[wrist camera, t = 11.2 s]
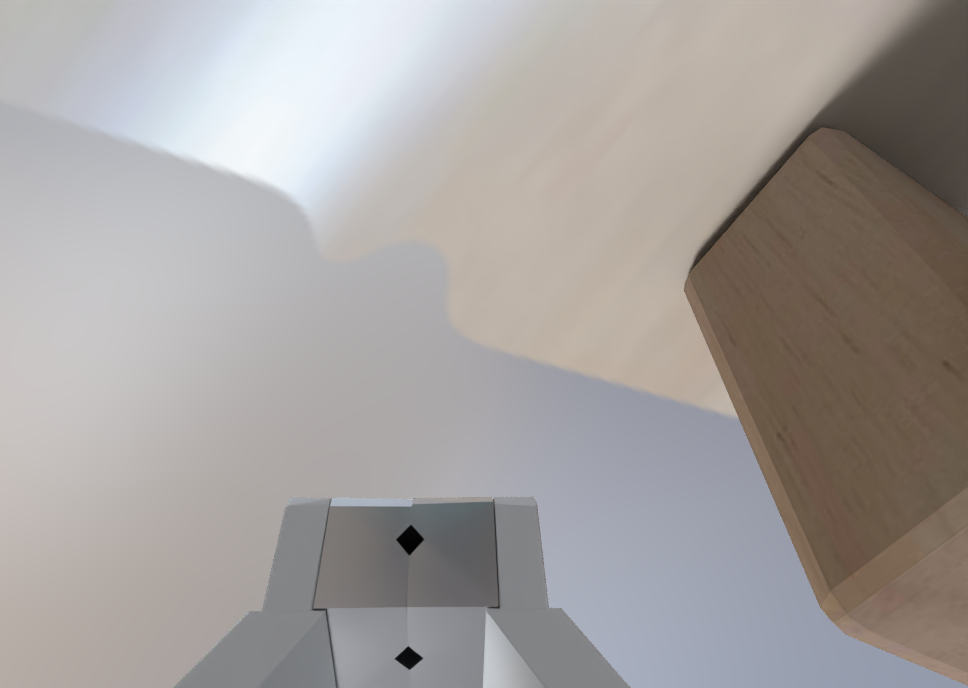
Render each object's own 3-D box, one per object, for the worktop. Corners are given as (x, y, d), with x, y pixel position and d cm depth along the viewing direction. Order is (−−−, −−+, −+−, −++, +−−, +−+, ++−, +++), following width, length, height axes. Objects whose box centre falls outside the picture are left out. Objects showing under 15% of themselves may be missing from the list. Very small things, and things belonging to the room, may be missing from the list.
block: (818, 110, 35) (1128, 412, 19) (970, 217, 39) (1345, 553, 22) (670, 281, 40) (818, 638, 24) (817, 363, 43) (1034, 726, 27)
